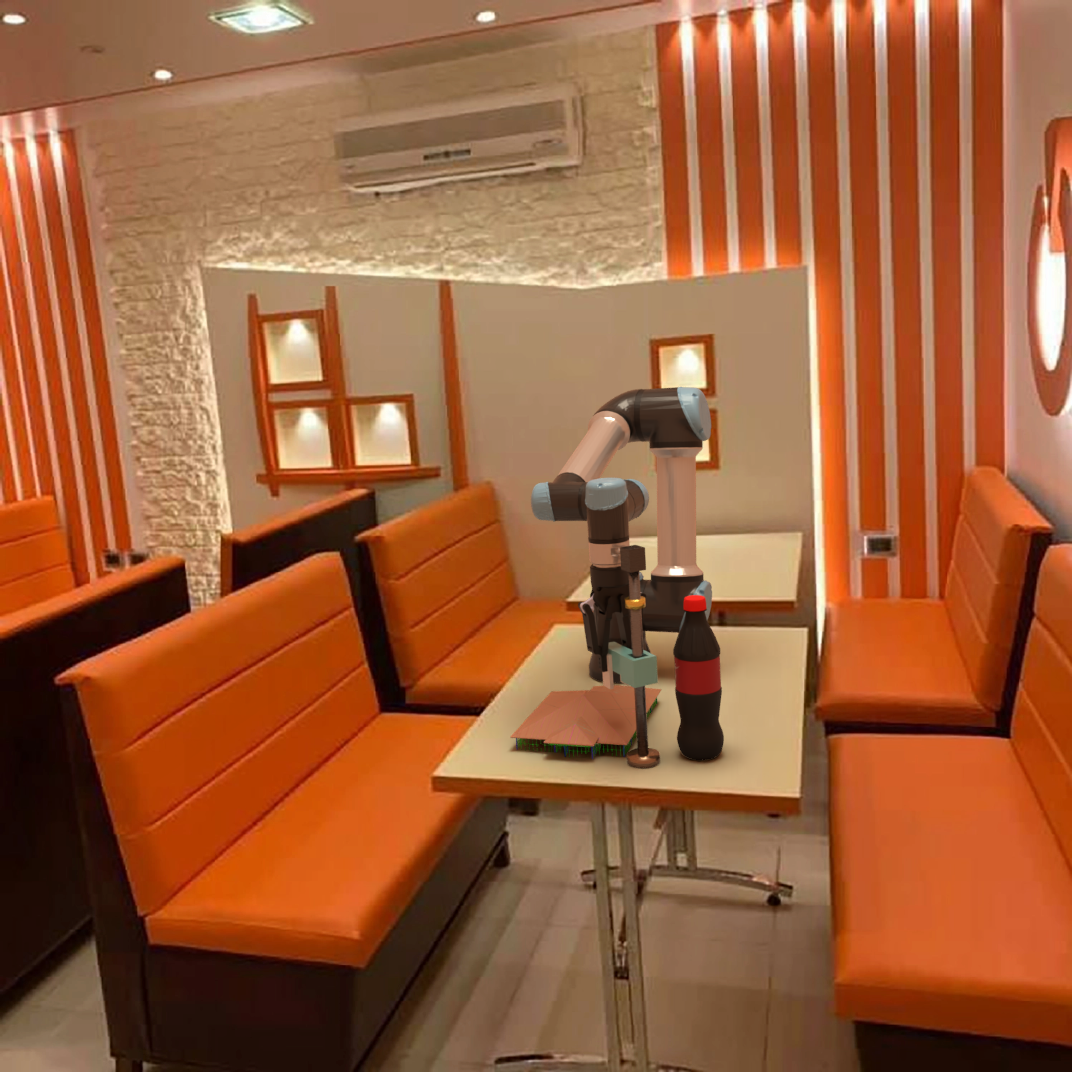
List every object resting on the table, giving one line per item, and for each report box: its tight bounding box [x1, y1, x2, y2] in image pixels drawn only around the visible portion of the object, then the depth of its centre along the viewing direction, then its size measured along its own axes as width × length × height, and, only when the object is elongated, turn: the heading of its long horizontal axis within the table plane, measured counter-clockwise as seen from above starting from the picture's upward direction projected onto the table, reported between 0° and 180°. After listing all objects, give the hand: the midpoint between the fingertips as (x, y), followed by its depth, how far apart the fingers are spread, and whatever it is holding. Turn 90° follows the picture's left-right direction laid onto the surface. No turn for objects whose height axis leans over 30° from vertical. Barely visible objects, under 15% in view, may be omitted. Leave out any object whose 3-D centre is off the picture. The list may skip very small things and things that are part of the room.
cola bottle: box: [672, 595, 725, 762], centre depth 189 cm, size 8×8×30 cm
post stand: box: [620, 544, 661, 769], centre depth 187 cm, size 6×6×40 cm
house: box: [510, 684, 662, 760], centre depth 208 cm, size 23×33×8 cm
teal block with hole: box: [608, 642, 659, 688], centre depth 191 cm, size 14×5×5 cm, turn 25°
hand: (617, 684), depth 196 cm, fingers closed on teal block with hole, 3 cm apart
